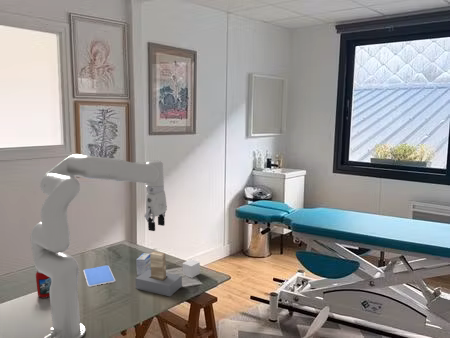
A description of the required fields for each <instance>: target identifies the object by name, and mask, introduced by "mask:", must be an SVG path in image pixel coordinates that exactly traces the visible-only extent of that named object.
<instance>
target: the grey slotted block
mask: <svg viewBox="0 0 450 338" xmlns="http://www.w3.org/2000/svg"><path fill="white" fill-rule="evenodd" d="M182 279H183V277H182V275H178V274H175V273H168V272H166V278H165V279H164V280H163V281H162V280H157V279H153V278H151V270H150V269H148V270H147V271H145V272H144V273H142V274H141V275H140V276H136V277H135V289H137V290H141V291H145V292H150V293H153V294H158V295H162V296H167V297H171V296H172V295H173V294H174V293H176V292H177V291H178V290H179V289H180V288H182V287H183V281H182Z"/></svg>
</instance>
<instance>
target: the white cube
mask: <svg viewBox="0 0 450 338" xmlns="http://www.w3.org/2000/svg"><path fill="white" fill-rule="evenodd" d="M200 263H201V262H199V261H197V260H194V259H188V260H186V261H184V262H182V265H181V266H182V275H184V276H185V275H186V277H188V278H190V277H191V279H192V278H194V277H196V276H198V275H200V273H201V267H200V266H201V264H200Z"/></svg>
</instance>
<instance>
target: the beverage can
mask: <svg viewBox="0 0 450 338" xmlns="http://www.w3.org/2000/svg"><path fill="white" fill-rule="evenodd" d="M36 270H37V269H36ZM51 282H52V280H51V278H50V277H48V276H46V275H44V274H43V273H41V272H39V271H38V270H37V271H36V273H35V283H36V290H37V296H38V297H39V298H43V299H45V298H50V286H51Z"/></svg>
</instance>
